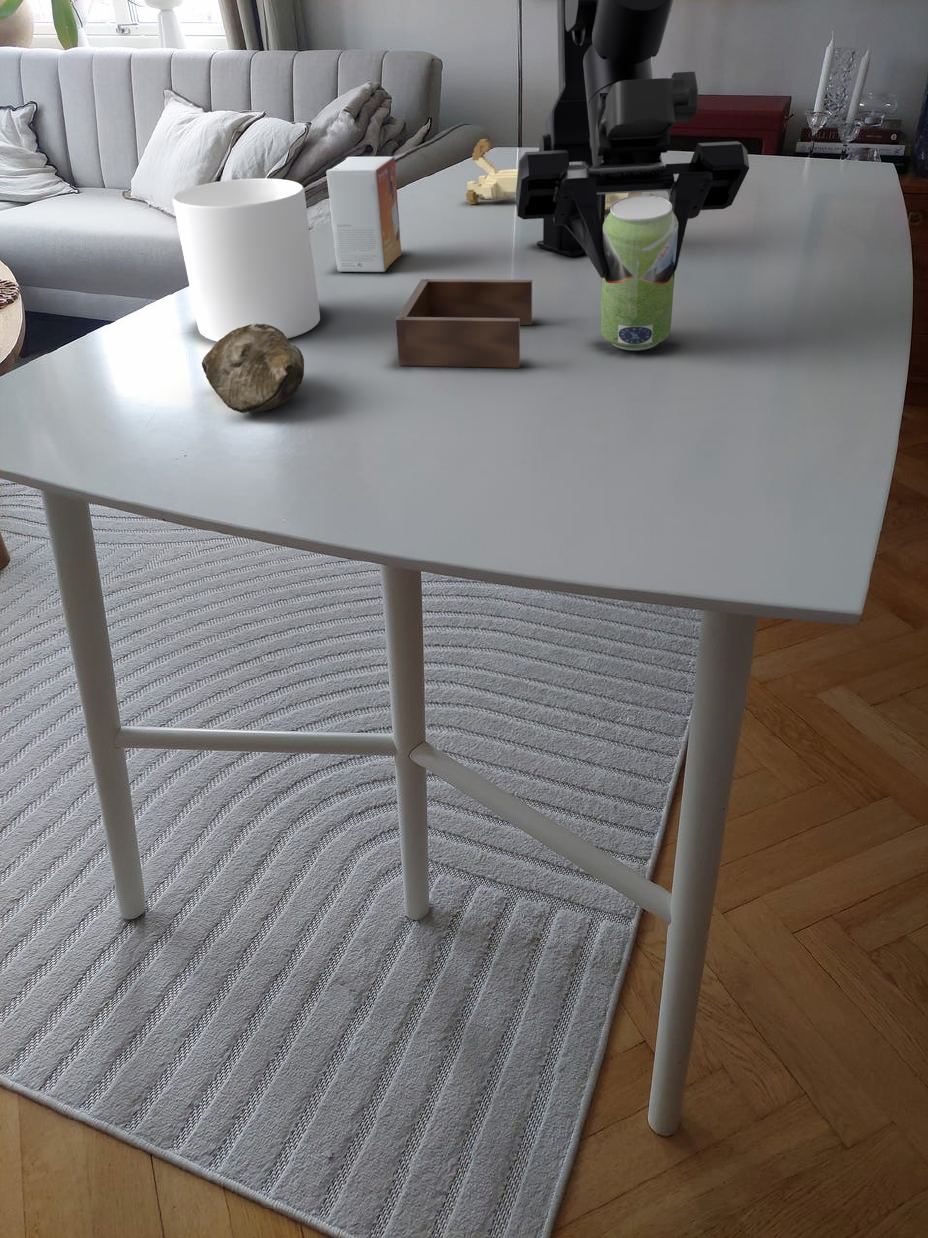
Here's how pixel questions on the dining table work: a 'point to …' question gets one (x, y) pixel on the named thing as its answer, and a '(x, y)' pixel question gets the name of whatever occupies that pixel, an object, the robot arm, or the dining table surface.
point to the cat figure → (508, 180)
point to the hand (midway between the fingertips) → (638, 273)
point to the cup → (248, 255)
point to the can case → (464, 323)
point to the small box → (364, 213)
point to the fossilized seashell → (254, 368)
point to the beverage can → (638, 272)
